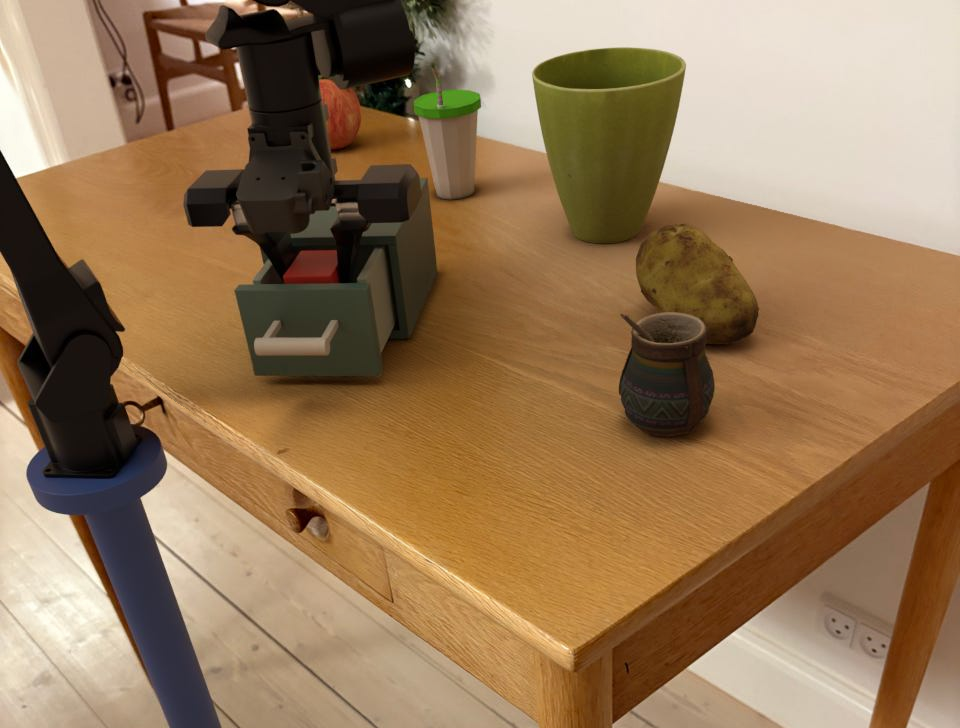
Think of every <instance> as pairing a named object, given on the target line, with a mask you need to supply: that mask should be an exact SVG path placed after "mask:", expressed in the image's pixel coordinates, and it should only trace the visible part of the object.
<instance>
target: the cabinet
mask: <svg viewBox="0 0 960 728" xmlns="http://www.w3.org/2000/svg"><path fill="white" fill-rule="evenodd" d="M335 180H336V179H335ZM343 180H344V179H341V180H339V179H338V180H336V181H343ZM420 186H421V195H422V197H421V199H420V201H419V203H418V205H417V207H416V208H415V210H414V212H413V214H412V216H411V218H410V220H407V221H404V222H401V223H372V224H371V226H370V227H369V229H368V230H367V231H365V232H363V234H362V237H361V241H360V245H388V248H389V255H390V263H391V270H392V277H393V284H394V292H395V299H396V306H397V314H398V319H397V321H396V323H395V325H394V327H393V329H392V331H391V334H390V336H389V338H388V340H404V339H405V340H409V339H410V337H411V336H412V333H413V331H414V328H415V327H416V324H417V322H418V319H419V318H420V315H421V312H422V310H423V308H424V306H425V304H426V302H427V299H428V297H429V295H430V292H431V290H432V288H433V286H434V283H435V282H436V279H437V276H438V274H439V273H438V272H439V271H438V261H437V253H436V245H435V243H436V242H435V236H434V225H433V218H432V217H433V216H432V208H431V199H430V198H431V197H430V189H429V180H428V177H420ZM338 216H339V215H338V212H336V206H331V207H330V209H329V210H328V211H315V214H310V221H309V225H308V227H307V228H306V229H305V230H304V231H302V232H300V233H295V234H291V239H292V244H293V246H336V241H335V239H334V237H333V235H332V233H331V230H330V228H331V227H332V225H333V224H334V222H335V221H336V219H337V218H338ZM259 250H260V255H261V259H262V263H263V265H264V264H265V263H266V261H267V260H268V257H267V256H266V254H265V253H264V252H263V251H262V249H261V248H260V247H259Z"/></svg>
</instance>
